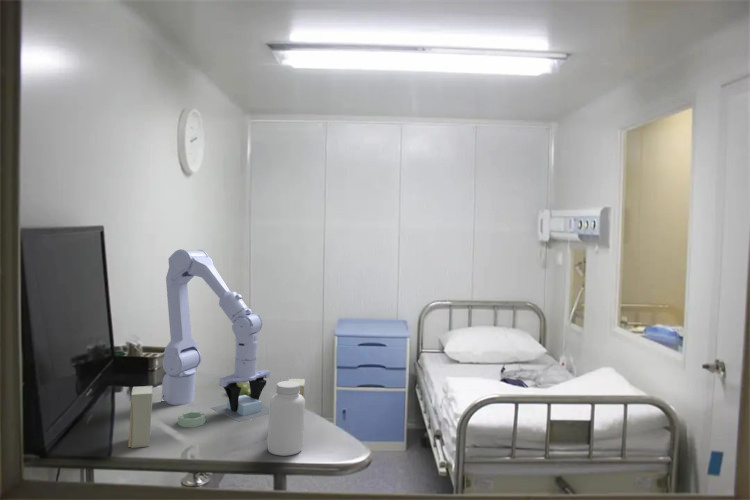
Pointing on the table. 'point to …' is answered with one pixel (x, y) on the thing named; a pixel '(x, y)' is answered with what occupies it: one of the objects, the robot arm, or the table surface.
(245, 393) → the pear
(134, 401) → the skincare box
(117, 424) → the table surface
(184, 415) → the bowl
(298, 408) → the pill bottle
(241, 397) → the block
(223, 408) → the mat
